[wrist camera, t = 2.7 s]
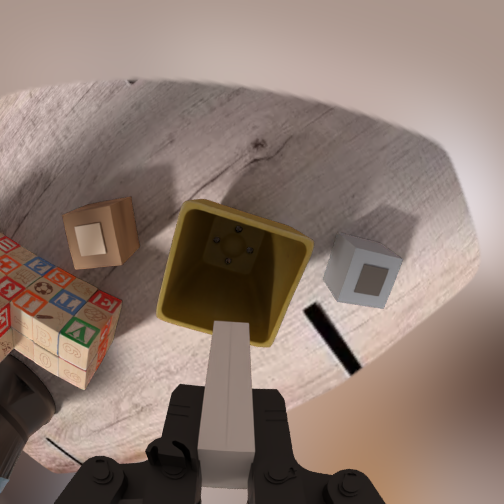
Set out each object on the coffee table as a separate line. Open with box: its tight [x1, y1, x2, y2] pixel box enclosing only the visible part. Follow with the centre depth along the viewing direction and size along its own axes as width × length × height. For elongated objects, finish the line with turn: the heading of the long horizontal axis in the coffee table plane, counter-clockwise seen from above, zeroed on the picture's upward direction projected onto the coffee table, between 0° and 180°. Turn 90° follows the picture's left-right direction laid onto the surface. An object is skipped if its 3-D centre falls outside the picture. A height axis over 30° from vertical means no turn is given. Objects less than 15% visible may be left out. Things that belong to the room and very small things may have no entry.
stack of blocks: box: [0, 232, 122, 390], centre depth 22 cm, size 21×6×12 cm, turn 65°
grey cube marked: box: [323, 232, 403, 309], centre depth 26 cm, size 5×5×5 cm
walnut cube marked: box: [62, 197, 140, 270], centre depth 24 cm, size 5×5×5 cm
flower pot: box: [156, 199, 314, 347], centre depth 23 cm, size 9×9×9 cm
